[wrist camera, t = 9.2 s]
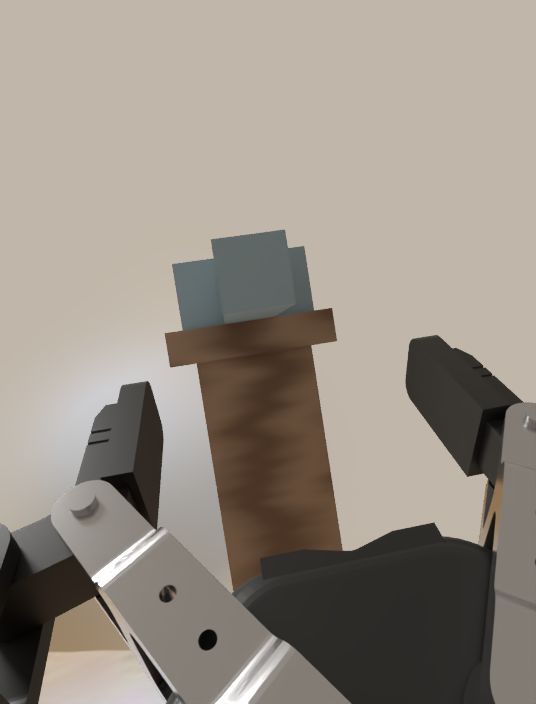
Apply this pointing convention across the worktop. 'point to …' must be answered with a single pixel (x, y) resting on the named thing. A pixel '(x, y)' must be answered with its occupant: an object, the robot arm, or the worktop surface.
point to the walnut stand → (265, 434)
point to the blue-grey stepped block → (243, 281)
